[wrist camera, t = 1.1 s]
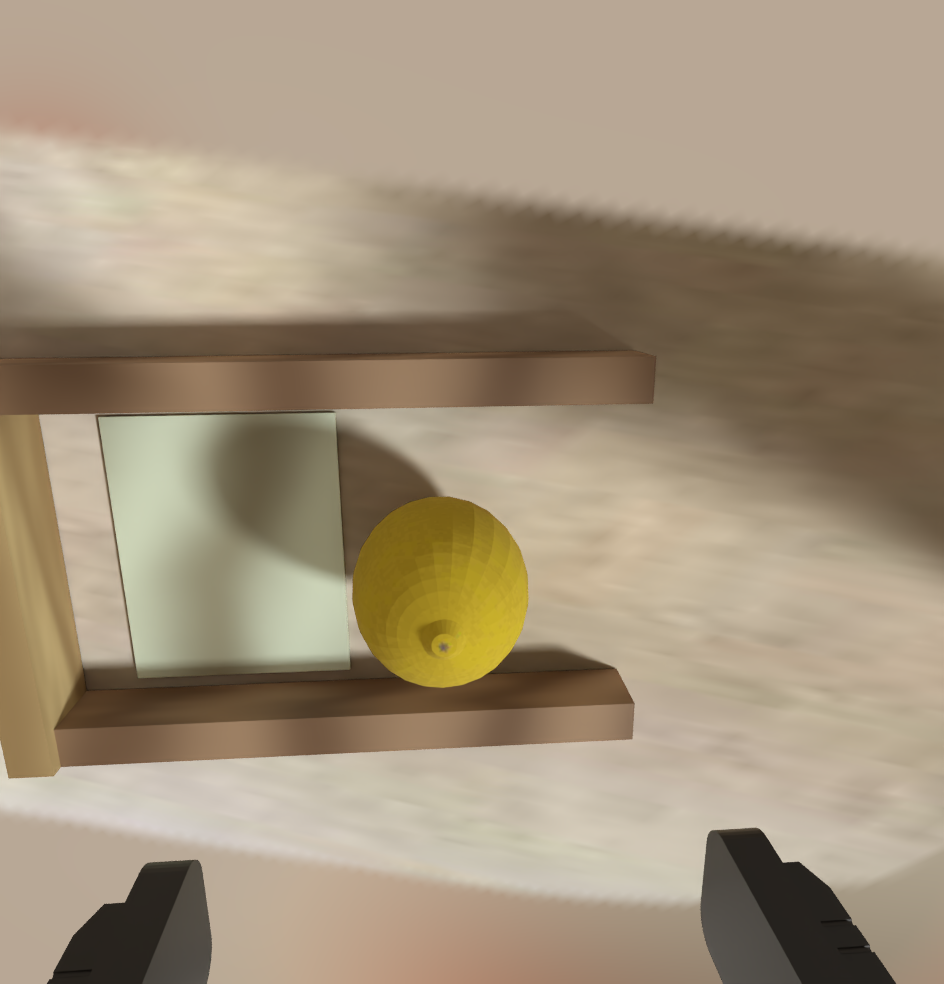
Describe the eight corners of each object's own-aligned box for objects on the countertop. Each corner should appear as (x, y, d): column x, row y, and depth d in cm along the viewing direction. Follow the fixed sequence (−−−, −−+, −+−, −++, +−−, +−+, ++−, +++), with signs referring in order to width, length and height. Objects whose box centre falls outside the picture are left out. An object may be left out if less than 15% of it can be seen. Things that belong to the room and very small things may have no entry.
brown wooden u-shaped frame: (633, 350, 25) (661, 357, 22) (614, 701, 28) (636, 747, 26) (-19, 358, 23) (-81, 367, 20) (52, 726, 27) (8, 778, 24)
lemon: (335, 517, 26) (297, 612, 18) (468, 444, 25) (488, 510, 18) (410, 636, 27) (405, 771, 19) (536, 569, 27) (583, 680, 19)
